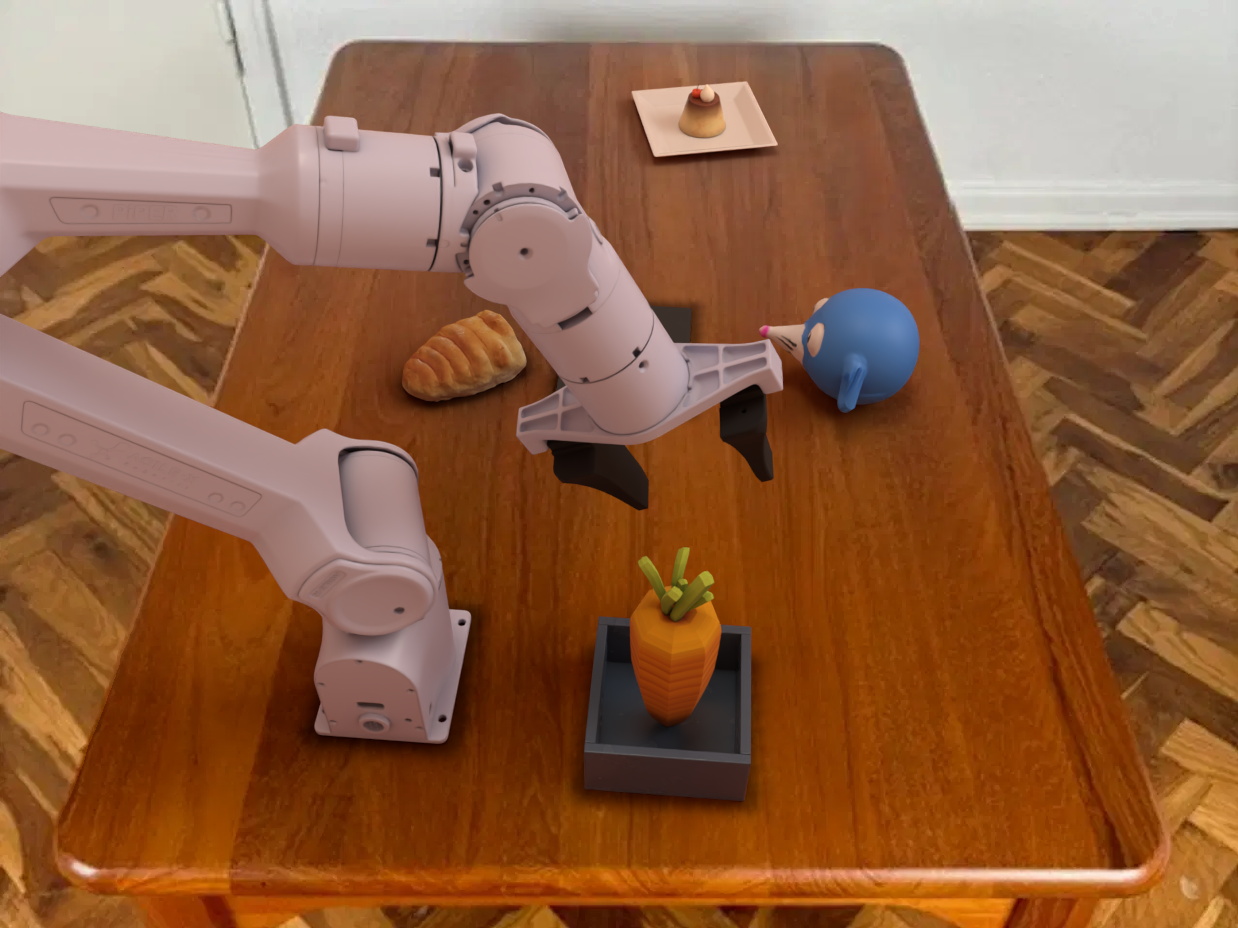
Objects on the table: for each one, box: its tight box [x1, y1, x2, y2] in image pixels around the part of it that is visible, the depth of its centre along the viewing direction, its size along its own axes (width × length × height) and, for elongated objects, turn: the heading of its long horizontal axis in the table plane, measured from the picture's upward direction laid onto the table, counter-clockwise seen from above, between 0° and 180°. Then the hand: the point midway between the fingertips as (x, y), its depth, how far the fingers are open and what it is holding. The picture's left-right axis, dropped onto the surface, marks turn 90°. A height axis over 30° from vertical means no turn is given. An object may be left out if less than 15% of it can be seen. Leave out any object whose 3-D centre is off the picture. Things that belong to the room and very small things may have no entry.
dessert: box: [631, 80, 779, 158], centre depth 116 cm, size 12×12×5 cm
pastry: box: [401, 309, 527, 403], centre depth 91 cm, size 9×7×4 cm
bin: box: [583, 615, 752, 802], centre depth 70 cm, size 9×9×4 cm
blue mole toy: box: [758, 287, 920, 414], centre depth 89 cm, size 12×12×8 cm
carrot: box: [630, 546, 722, 727], centre depth 66 cm, size 5×5×15 cm
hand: (703, 481), depth 69 cm, fingers open, 7 cm apart
